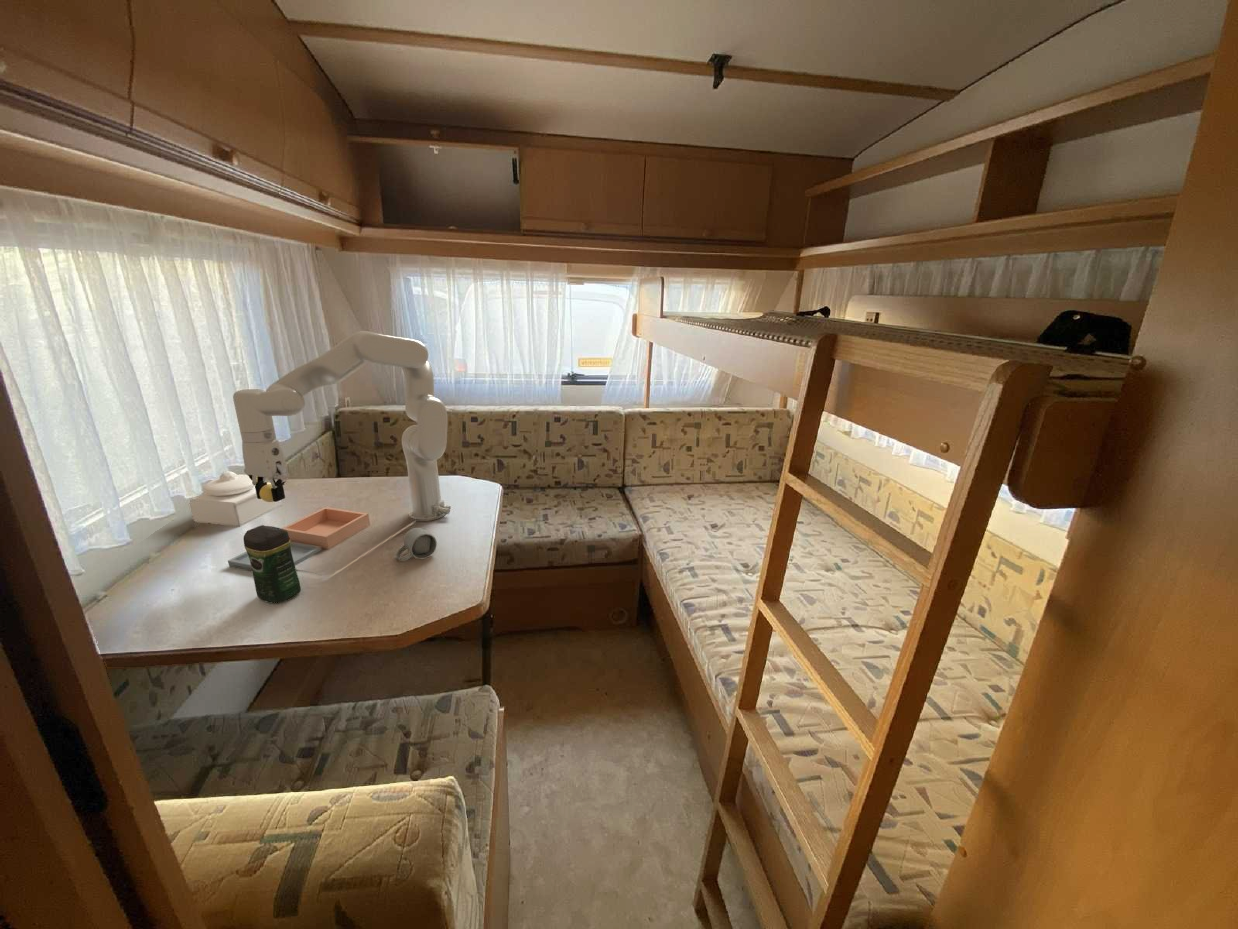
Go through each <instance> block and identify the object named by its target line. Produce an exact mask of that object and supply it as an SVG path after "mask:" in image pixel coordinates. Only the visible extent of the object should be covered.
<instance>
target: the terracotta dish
mask: <svg viewBox="0 0 1238 929" xmlns="http://www.w3.org/2000/svg"><path fill="white" fill-rule="evenodd" d="M370 525H371V523H370V517H369V513H366V512H359V511H354V510H346V509H341V508H333V507H327V506H324V507H323V508H321V509H318V510H317V511H315V512H312V513H310V514H308V515H305V516H304V517H302V518H300V519H298V520H296V521H294V522H292V523H289V524H287V525H285V526H283V527H281V529H284V530H287V532H288V535H289V538H290V541H291V542H297V543H303V544H309V545H314V546H320V547H321V548H322V549H327V550H330V549H331V548H333V547H335V546H337V545H338V544H340V543H342V542H344V541H345V540H346V539H349V538H350V537H352V536H353V535H355V534H357V533H359V532H360V531H362V530H364V529H365V528H368V526H370Z"/></svg>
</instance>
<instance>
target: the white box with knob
mask: <svg viewBox="0 0 1238 929" xmlns="http://www.w3.org/2000/svg"><path fill="white" fill-rule="evenodd" d="M267 484H271V483H270V481H269V482H268V481H267ZM255 486H256V485H253V484H252V480H251V479H250V478H249V476H248V475H247V474H237V473H236V472H233V471H230V470H227V471H224V472H222V473H221V474H220V476H219V477H218V478H215V479H213V480H210V481H209V482H207V483H206V484H204V486H203V488H202V490H203V492H201V493H202V495H201V496H197V497H195V498H193V499H192V500H190V503H189V504H190V508H191V511H190V513H191V512H192V515H191V517H192V516H193V518H192V520H193V519H194V521H195V522H194V521H193V522H194V523H200V524H201V523H202V524H208V523H211V524H210V525H218V524H220V525H221V526H228V527H229V526H231V527H239V528H240V527H242V526H245V525H247V524H248V523H250V522H251V521H254V520H256V519H258V518H260V517H262V516H265V515H266V514H268V513H270V512H272V511H274V510H276V509H278V508H279V507H282V506H283V505H282V500H280V501H277V502H266V501H264V500H263V499H258V498H257V494H256V490H255ZM189 504H188V505H189ZM190 508H189V509H190Z"/></svg>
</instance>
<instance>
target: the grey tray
mask: <svg viewBox="0 0 1238 929" xmlns="http://www.w3.org/2000/svg"><path fill="white" fill-rule="evenodd" d="M290 547H291V553H292V557H293V561H294V565H295V566H297V565H298V564H300V563H303V561H306V560H307V559H309V558H311V557H312V556H314V555H316V554H317V553H319V552H321V551H323V550H322V549H323V548H321V547H320V546H314V545H309V544H303V543H297V542H291V544H290ZM227 563H228V567H229V568H232V569H238V570H243V571H247V572H252V568H251V563H250V559H249V556H248V554H247V551H246V550H245V552H242V553H241V554H238V555H237V556H234V557H233V558H230V559H228V560H227Z"/></svg>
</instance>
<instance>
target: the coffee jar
mask: <svg viewBox="0 0 1238 929" xmlns="http://www.w3.org/2000/svg"><path fill="white" fill-rule="evenodd" d="M281 528H282V527H281ZM281 528H280V527H276V526H273V525H272V526H271V525H270V526H269V525H265V524H262V525H258V526H256V527H252V528H251V529H248V530H246V531H245V533H244V535H243V546H244V549H245V552H246V551H247V554H248V556H249V559H250V563H251V568H252V571H251V573H252V576H253V582H254V587H255V591H256V592H255V593H256V595H257V598H258V599H260V600H261V601H264V602H266V603H269V604H280V603H282V602H287V601H290V600H291V599H293V598H295V597H296V596H297V595H298V594H300V592H301V590H302V587H301V584H300V579H299V576H298V573H297V569H296V565H294V561H293V557H292V553H291V547H290V544H291V541H290V538H289V535H288V532H287V530H284V529H281Z"/></svg>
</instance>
